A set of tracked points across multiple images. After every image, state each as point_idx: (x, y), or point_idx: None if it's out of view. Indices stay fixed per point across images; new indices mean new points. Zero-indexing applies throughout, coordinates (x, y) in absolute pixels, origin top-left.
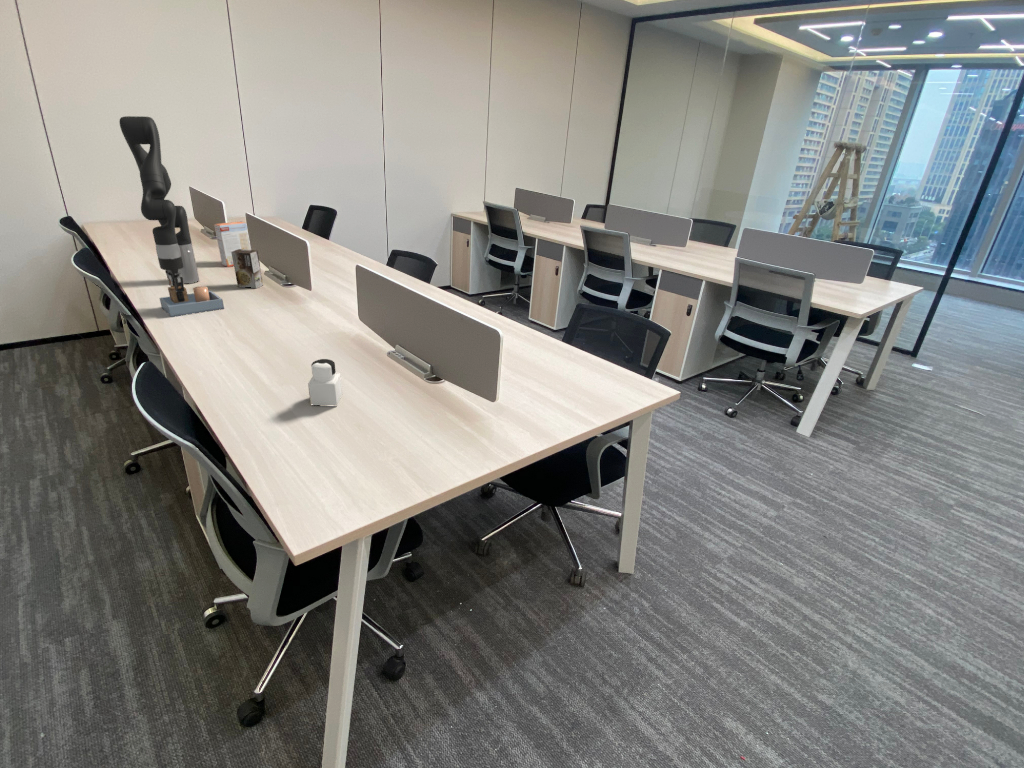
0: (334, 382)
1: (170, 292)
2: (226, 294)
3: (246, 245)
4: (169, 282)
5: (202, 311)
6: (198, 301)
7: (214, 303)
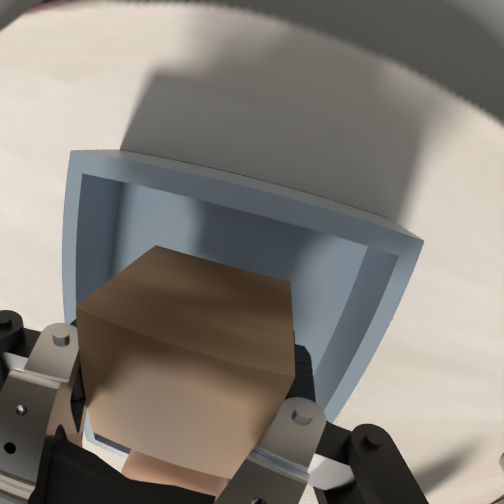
0: None
1: (184, 312)
2: (310, 495)
3: None
4: (240, 469)
5: None
6: None
7: None
